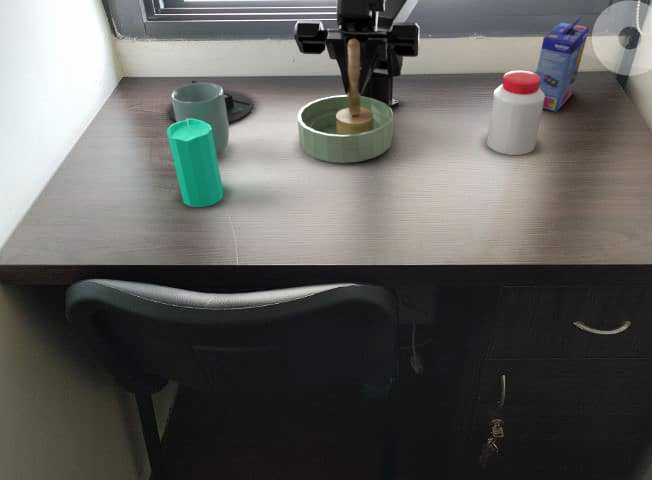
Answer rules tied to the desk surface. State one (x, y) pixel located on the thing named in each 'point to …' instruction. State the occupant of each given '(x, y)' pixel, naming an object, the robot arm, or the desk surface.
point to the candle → (195, 162)
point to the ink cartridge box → (560, 62)
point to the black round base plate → (231, 106)
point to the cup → (204, 109)
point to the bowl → (333, 147)
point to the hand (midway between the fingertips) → (353, 93)
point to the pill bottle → (516, 113)
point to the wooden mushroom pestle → (354, 99)
